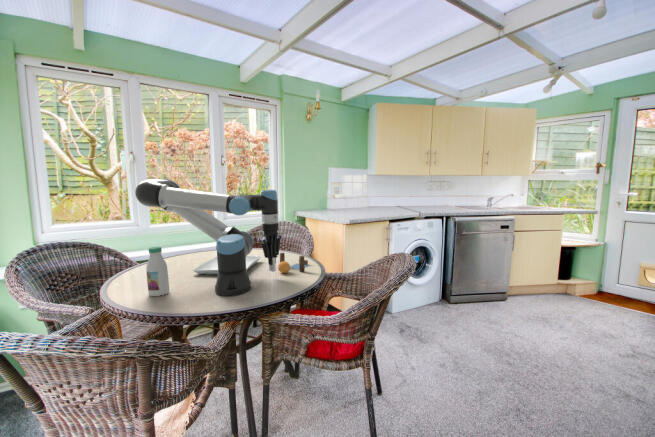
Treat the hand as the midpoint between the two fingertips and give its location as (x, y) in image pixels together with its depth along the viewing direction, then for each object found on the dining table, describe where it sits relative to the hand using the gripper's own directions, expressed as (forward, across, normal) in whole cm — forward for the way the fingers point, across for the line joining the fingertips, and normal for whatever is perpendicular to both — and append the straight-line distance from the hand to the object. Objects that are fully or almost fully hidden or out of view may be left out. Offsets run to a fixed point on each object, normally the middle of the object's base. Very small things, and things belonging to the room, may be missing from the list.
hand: (272, 270), depth 141 cm
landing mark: (+4, +21, 0) cm, 21 cm away
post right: (+4, +15, -6) cm, 17 cm away
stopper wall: (+4, +26, 0) cm, 26 cm away
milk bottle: (+4, -39, +29) cm, 49 cm away
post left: (+4, +15, +7) cm, 17 cm away
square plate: (+4, 0, +31) cm, 32 cm away
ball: (+1, +9, 0) cm, 9 cm away
